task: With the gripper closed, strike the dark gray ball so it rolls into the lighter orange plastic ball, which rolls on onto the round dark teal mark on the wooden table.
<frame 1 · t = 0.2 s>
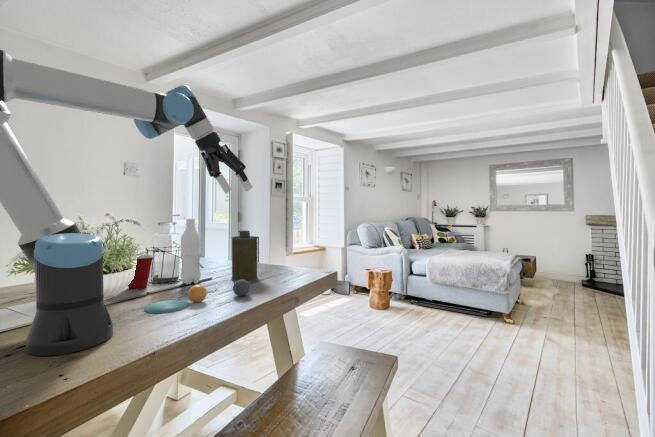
hand: (238, 190, 113), 36 cm above the table, tool tilted 35°, fingers open, 13 cm apart
orange ball: (197, 293, 100), on the table
teal mark: (167, 306, 95), on the table
dark gray ball: (241, 287, 108), on the table
canister: (245, 279, 132), on the table
plastic cup: (138, 288, 117), on the table
water bottle: (190, 283, 124), on the table
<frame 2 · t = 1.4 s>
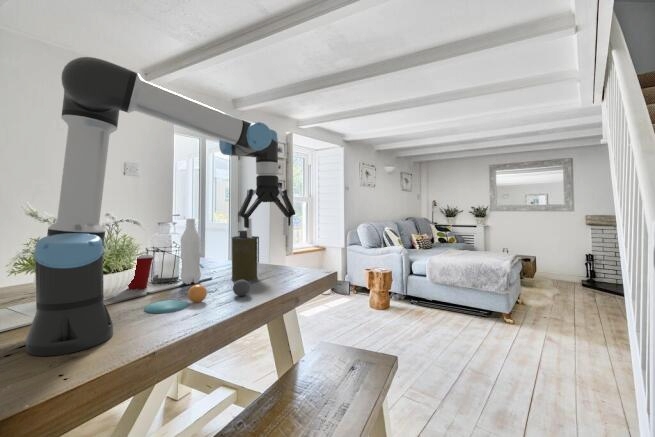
hand: (268, 236, 113), 20 cm above the table, tool pointing down, fingers open, 13 cm apart
nothing on the table moved.
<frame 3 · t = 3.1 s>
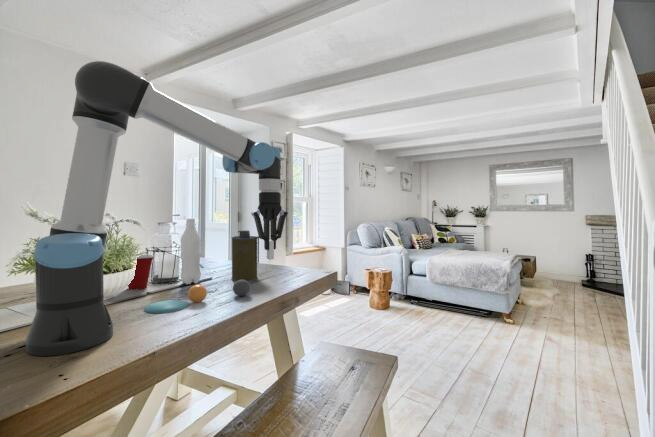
hand: (270, 258, 113), 12 cm above the table, tool pointing down, fingers closed
nothing on the table moved.
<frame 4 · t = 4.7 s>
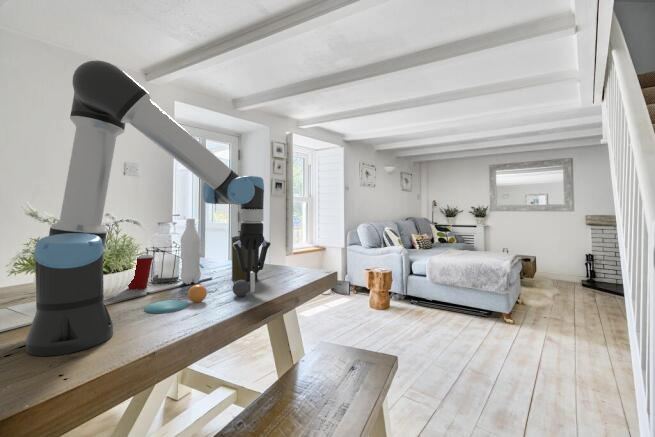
hand: (251, 290, 109), 1 cm above the table, tool pointing down, fingers closed
dark gray ball: (241, 288, 108), on the table, touching gripper
everything else where it was.
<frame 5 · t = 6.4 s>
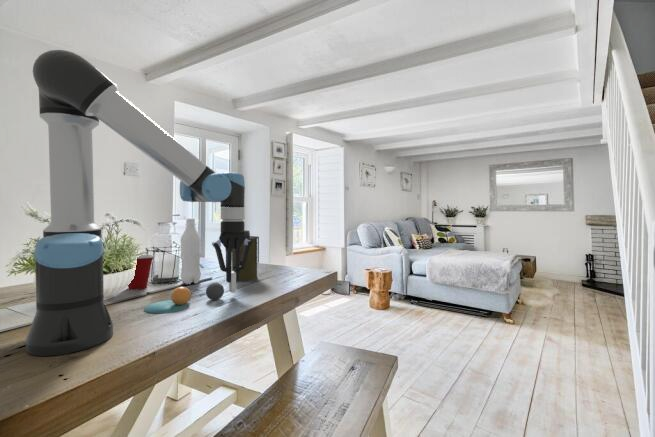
hand: (232, 291, 106), 2 cm above the table, tool pointing down, fingers closed
orange ball: (180, 295, 97), on the table
dark gray ball: (215, 291, 103), on the table
everything else where it was.
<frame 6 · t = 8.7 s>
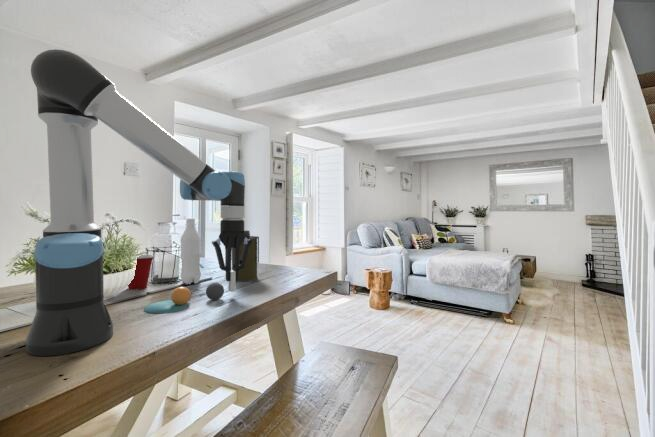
hand: (231, 290, 106), 2 cm above the table, tool pointing down, fingers closed
nothing on the table moved.
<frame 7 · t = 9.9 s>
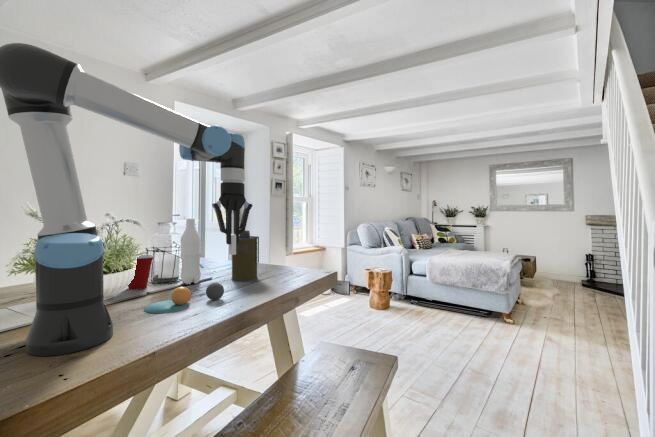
hand: (232, 254, 105), 14 cm above the table, tool pointing down, fingers closed
nothing on the table moved.
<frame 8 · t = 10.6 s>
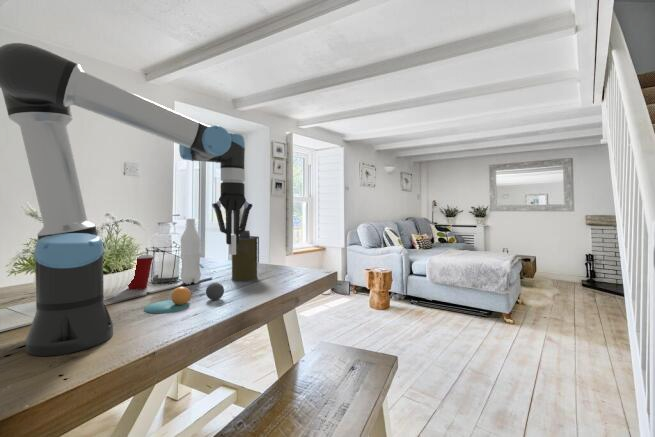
hand: (232, 254, 105), 14 cm above the table, tool pointing down, fingers closed
nothing on the table moved.
at the end: orange ball 3.8 cm from the teal mark (horizontally); orange ball never touched the robot; dark gray ball first touched orange ball at 5.2 s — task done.
